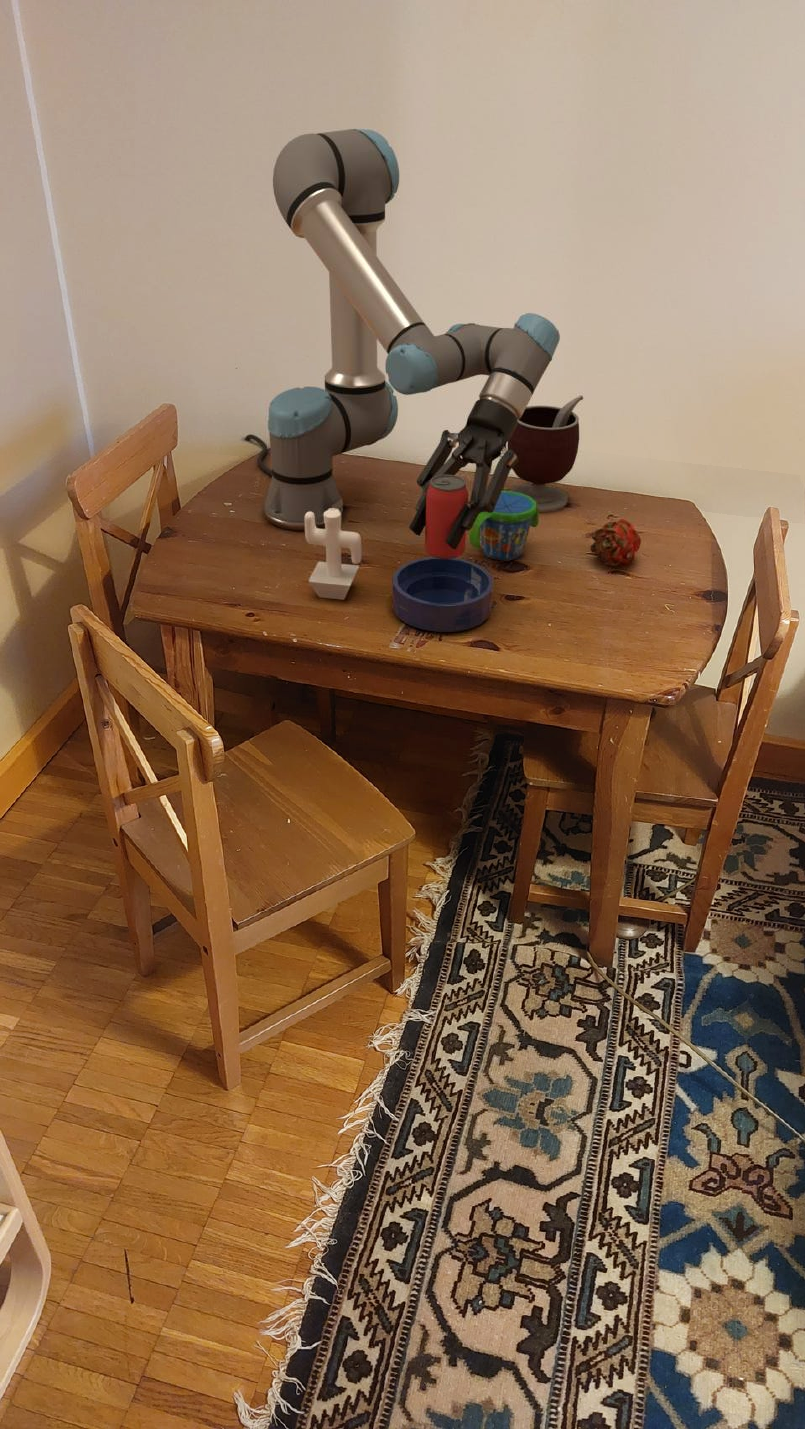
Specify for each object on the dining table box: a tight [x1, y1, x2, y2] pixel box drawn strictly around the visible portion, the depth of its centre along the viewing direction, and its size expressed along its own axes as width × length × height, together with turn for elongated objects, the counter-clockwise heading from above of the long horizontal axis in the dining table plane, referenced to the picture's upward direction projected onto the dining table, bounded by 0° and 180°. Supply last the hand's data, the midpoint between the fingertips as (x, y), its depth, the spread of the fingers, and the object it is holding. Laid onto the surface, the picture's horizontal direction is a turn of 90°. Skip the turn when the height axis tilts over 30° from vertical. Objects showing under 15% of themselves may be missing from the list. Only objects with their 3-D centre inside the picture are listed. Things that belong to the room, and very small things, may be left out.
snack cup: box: [468, 490, 540, 562], centre depth 183 cm, size 16×10×10 cm
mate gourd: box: [506, 395, 584, 513], centre depth 200 cm, size 16×14×20 cm
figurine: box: [304, 508, 362, 601], centre depth 169 cm, size 7×9×15 cm
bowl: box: [391, 556, 495, 633], centre depth 168 cm, size 17×17×6 cm
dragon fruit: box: [589, 518, 642, 567], centre depth 183 cm, size 8×8×12 cm
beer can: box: [424, 474, 469, 559], centre depth 160 cm, size 7×7×12 cm
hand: (432, 538), depth 159 cm, fingers closed on beer can, 6 cm apart
